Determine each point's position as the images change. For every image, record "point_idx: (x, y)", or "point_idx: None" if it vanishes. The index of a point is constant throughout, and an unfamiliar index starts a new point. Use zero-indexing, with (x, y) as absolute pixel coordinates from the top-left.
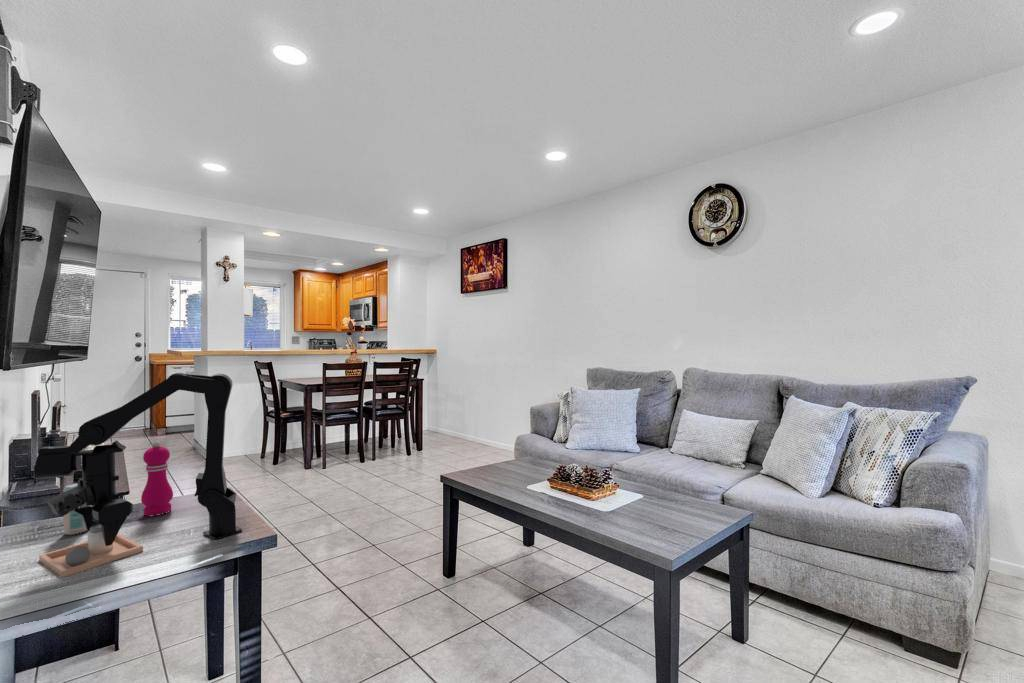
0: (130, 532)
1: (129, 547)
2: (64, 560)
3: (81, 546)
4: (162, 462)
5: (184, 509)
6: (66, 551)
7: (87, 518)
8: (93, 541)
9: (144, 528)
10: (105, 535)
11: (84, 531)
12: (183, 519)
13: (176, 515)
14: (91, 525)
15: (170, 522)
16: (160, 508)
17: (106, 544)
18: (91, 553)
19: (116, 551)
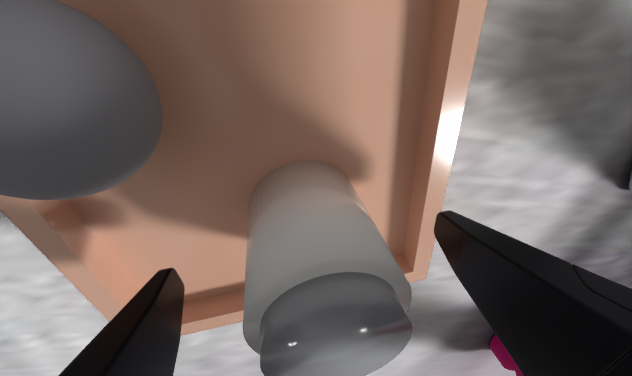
0: (438, 285)
1: (236, 290)
2: (299, 32)
3: (10, 174)
4: None
5: (469, 367)
6: (434, 72)
7: (580, 329)
8: (264, 234)
9: (430, 311)
10: (74, 365)
11: (630, 179)
12: (395, 370)
13: (446, 358)
14: (495, 278)
15: (406, 353)
16: (510, 358)
17: (150, 280)
18: (271, 175)
19: (221, 255)
